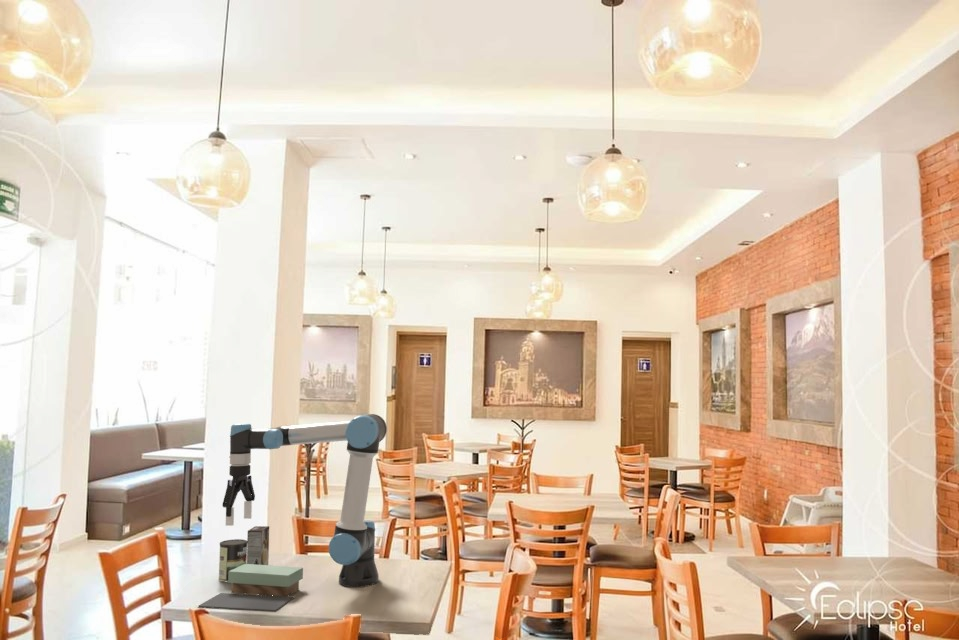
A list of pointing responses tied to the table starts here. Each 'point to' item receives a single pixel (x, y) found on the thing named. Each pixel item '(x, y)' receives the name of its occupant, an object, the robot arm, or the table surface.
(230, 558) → the coffee can
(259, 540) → the coffee box
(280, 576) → the lid
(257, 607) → the mat
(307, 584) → the table surface
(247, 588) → the box
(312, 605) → the table surface
